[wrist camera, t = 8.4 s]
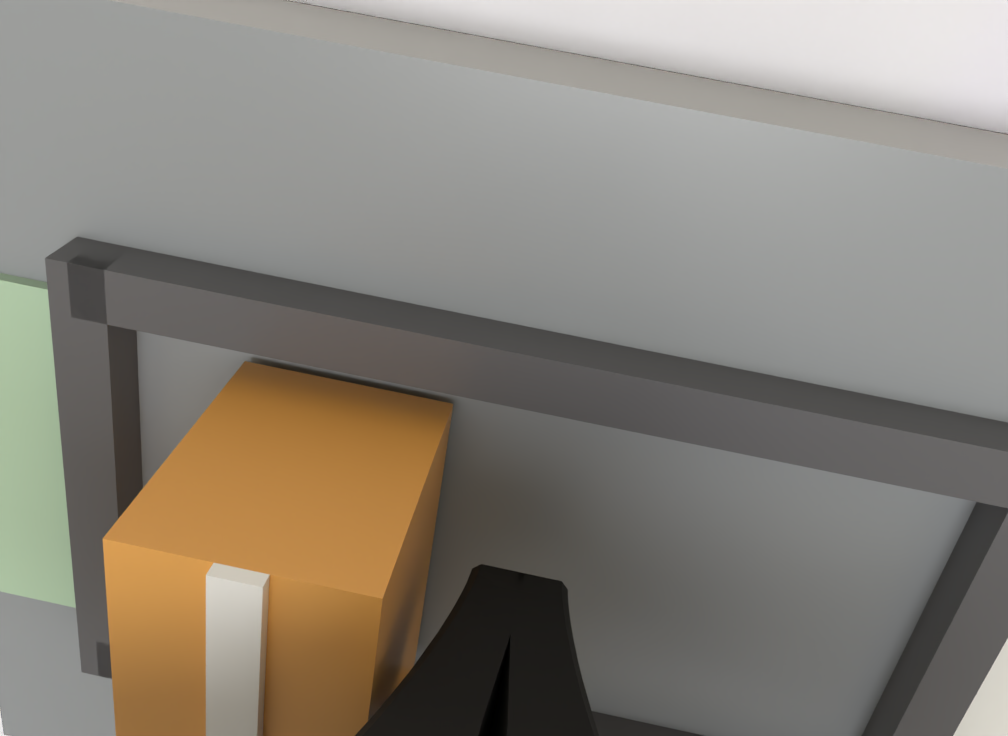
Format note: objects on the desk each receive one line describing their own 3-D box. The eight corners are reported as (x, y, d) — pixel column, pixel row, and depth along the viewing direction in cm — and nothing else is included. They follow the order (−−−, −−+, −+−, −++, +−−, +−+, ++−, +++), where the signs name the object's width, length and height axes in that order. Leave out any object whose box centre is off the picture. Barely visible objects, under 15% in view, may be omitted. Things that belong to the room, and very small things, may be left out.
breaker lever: (453, 403, 13) (377, 612, 10) (415, 660, 16) (343, 904, 12) (244, 360, 14) (93, 550, 10) (239, 621, 16) (114, 850, 12)
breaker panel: (1294, 188, 13) (1447, 268, 10) (913, 847, 19) (950, 990, 17) (-14, -56, 13) (-163, -36, 11) (60, 658, 20) (-22, 769, 18)
